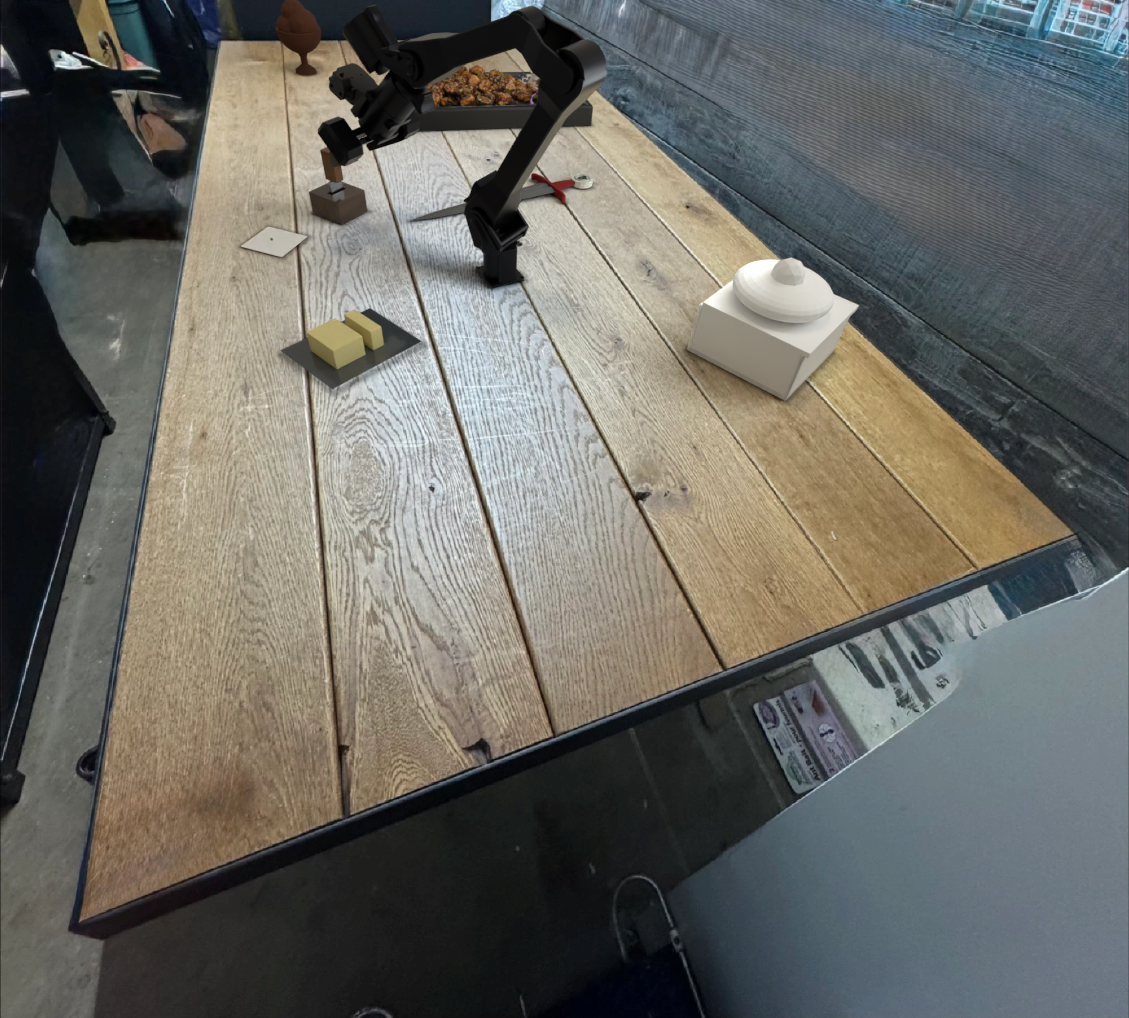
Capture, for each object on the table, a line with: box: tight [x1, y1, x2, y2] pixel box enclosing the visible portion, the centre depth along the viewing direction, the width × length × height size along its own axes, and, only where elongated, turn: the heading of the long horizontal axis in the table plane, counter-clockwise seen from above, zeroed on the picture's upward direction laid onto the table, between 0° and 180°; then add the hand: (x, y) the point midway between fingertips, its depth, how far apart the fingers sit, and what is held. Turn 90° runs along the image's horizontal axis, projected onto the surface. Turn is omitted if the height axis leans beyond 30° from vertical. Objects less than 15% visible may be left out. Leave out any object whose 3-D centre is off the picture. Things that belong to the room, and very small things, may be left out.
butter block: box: [305, 318, 365, 369], centre depth 93 cm, size 5×6×3 cm
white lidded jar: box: [686, 257, 860, 402], centre depth 98 cm, size 18×18×16 cm
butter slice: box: [343, 309, 384, 350], centre depth 96 cm, size 2×6×3 cm, turn 50°
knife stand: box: [308, 181, 368, 226], centre depth 121 cm, size 7×7×4 cm
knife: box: [319, 146, 344, 195], centre depth 118 cm, size 3×3×11 cm
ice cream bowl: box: [274, 0, 322, 76], centre depth 163 cm, size 11×11×15 cm
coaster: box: [240, 226, 309, 258], centre depth 113 cm, size 8×8×1 cm
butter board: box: [280, 307, 422, 390], centre depth 96 cm, size 16×12×1 cm
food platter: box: [413, 64, 594, 133], centre depth 159 cm, size 45×25×10 cm, turn 108°
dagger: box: [410, 172, 594, 222], centre depth 132 cm, size 12×41×2 cm, turn 113°
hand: (350, 156), depth 113 cm, fingers open, 9 cm apart
